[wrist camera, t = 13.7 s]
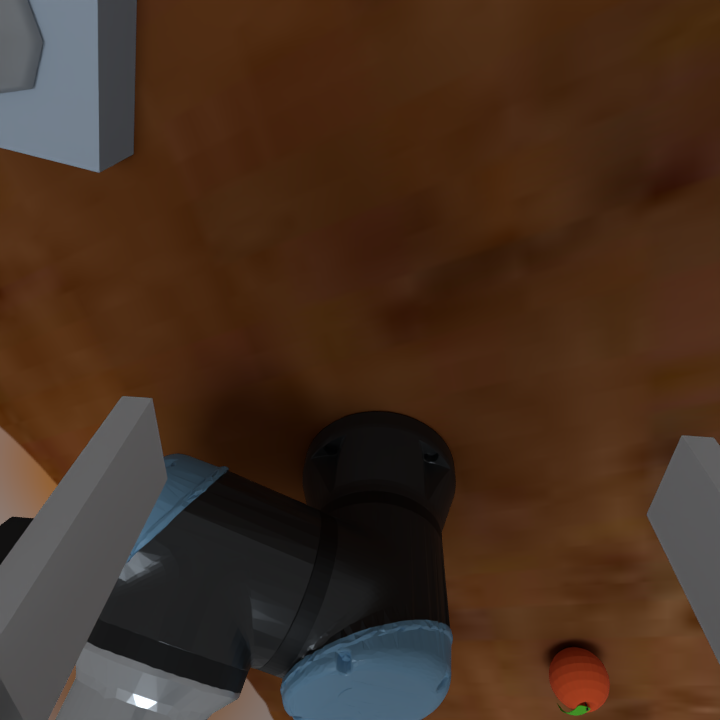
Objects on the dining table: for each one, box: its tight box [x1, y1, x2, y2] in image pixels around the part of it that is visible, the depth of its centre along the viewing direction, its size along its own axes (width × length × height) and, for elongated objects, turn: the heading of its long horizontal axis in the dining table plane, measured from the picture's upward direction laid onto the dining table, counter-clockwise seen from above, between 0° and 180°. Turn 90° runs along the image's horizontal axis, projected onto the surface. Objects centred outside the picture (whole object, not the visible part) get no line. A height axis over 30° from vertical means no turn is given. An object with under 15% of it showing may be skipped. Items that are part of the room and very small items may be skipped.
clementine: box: [549, 647, 610, 715], centre depth 69 cm, size 8×7×7 cm
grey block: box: [0, 0, 137, 172], centre depth 36 cm, size 13×13×6 cm
